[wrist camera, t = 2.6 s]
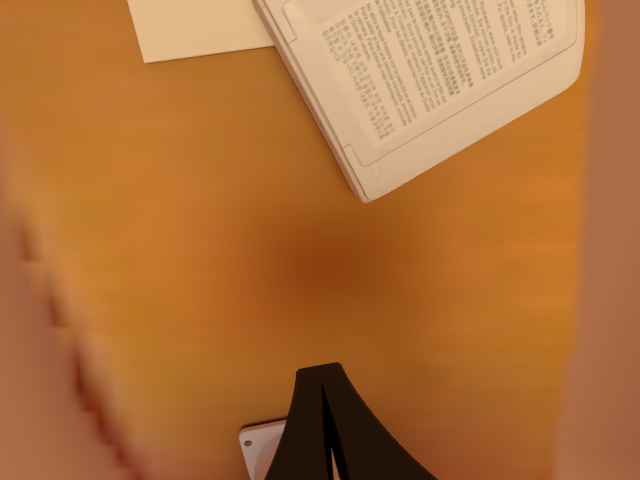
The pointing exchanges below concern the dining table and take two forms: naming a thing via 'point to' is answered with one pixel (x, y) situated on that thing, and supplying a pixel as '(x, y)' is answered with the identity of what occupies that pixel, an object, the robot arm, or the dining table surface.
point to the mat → (196, 28)
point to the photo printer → (420, 74)
